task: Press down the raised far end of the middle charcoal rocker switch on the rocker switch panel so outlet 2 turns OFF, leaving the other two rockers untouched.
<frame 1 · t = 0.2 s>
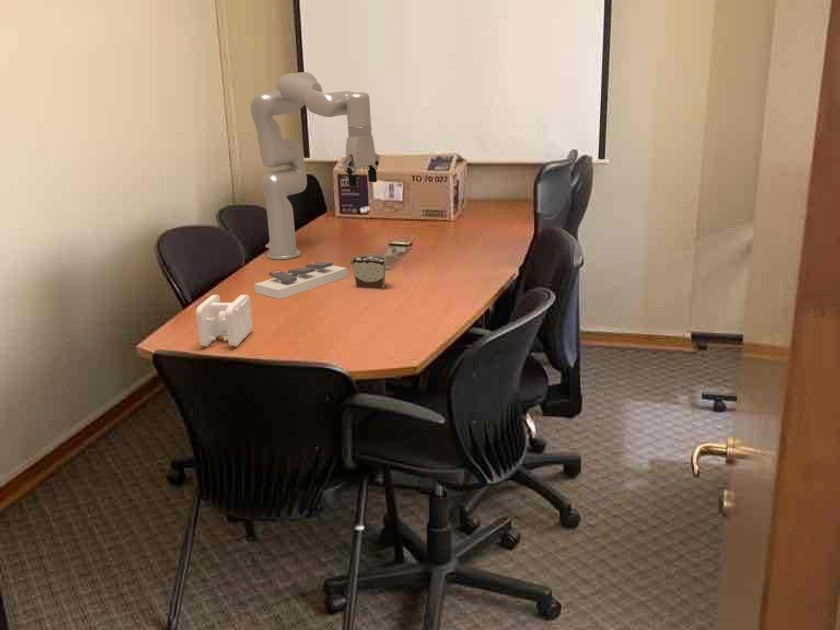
hand: (363, 184, 289), 31 cm above the table, fingers open, 9 cm apart
rocker switch panel: (302, 284, 290), on the table
rocker 3: (319, 265, 294), point 5 cm above the table, hinge at -8.0°
rocker 1: (282, 276, 283), point 5 cm above the table, hinge at 8.0°
rocker 2: (301, 270, 288), point 5 cm above the table, hinge at -8.0°
food container: (373, 286, 285), on the table
cable organizer: (228, 341, 242), on the table
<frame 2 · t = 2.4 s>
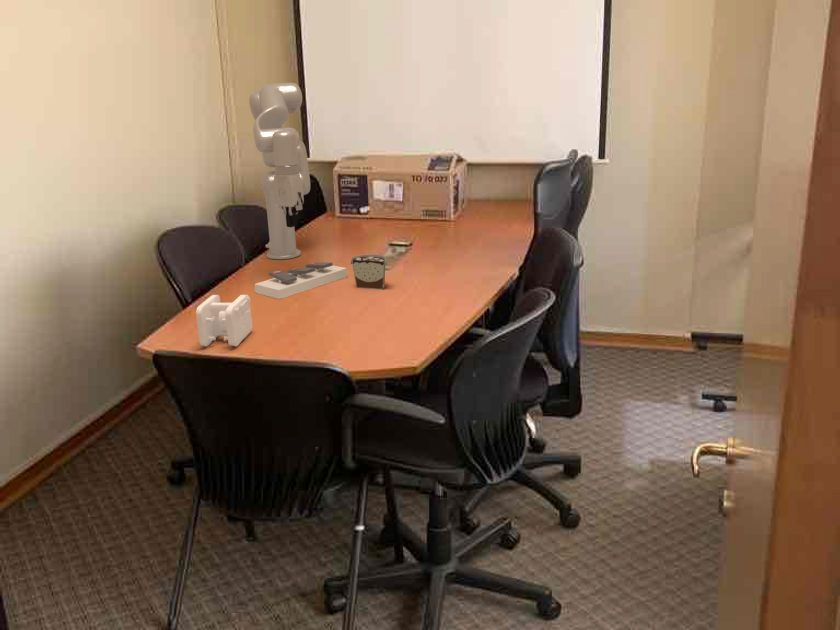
hand: (292, 226, 285), 19 cm above the table, fingers closed
nothing on the table moved.
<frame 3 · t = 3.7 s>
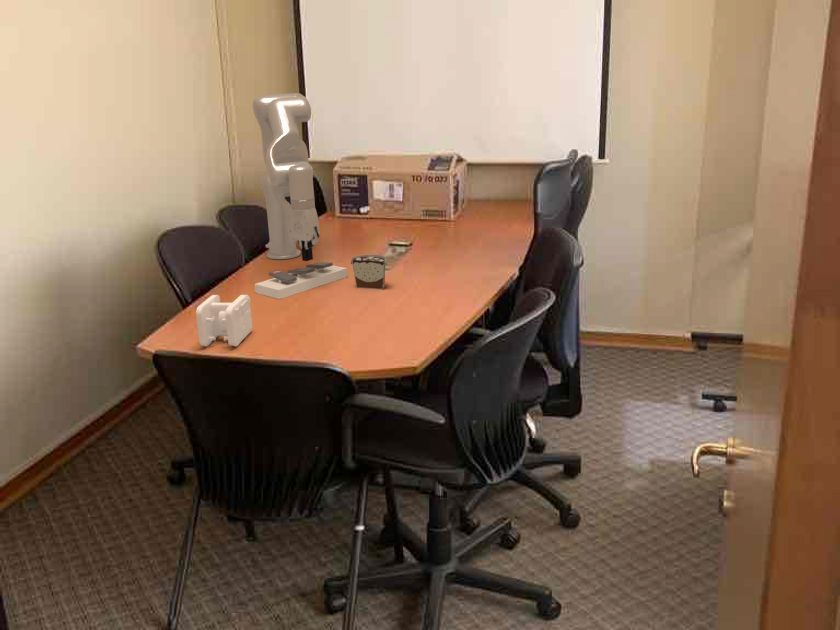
hand: (307, 260, 284), 9 cm above the table, fingers closed
nothing on the table moved.
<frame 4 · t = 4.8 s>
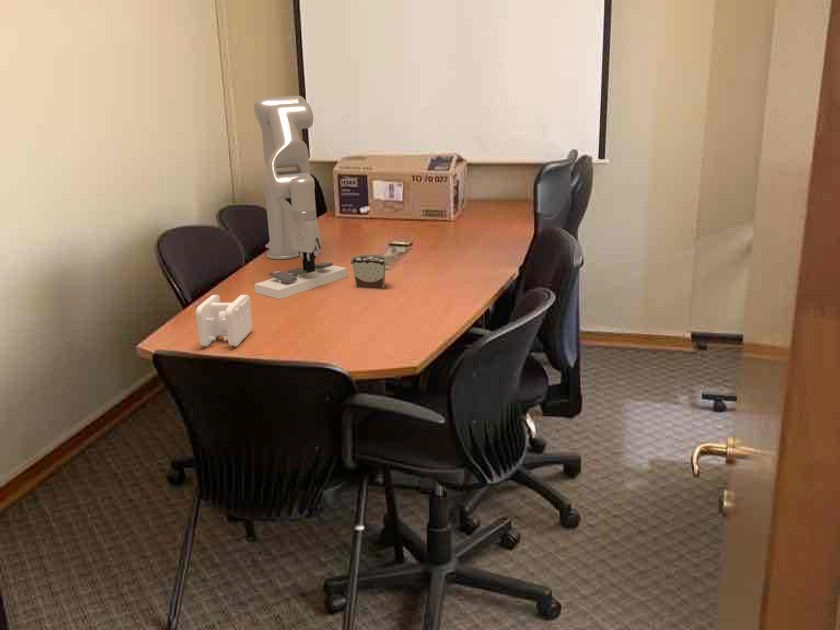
hand: (309, 271, 286), 5 cm above the table, fingers closed
rocker 2: (301, 270, 288), point 5 cm above the table, hinge at -7.7°, touching gripper
everything else where it was.
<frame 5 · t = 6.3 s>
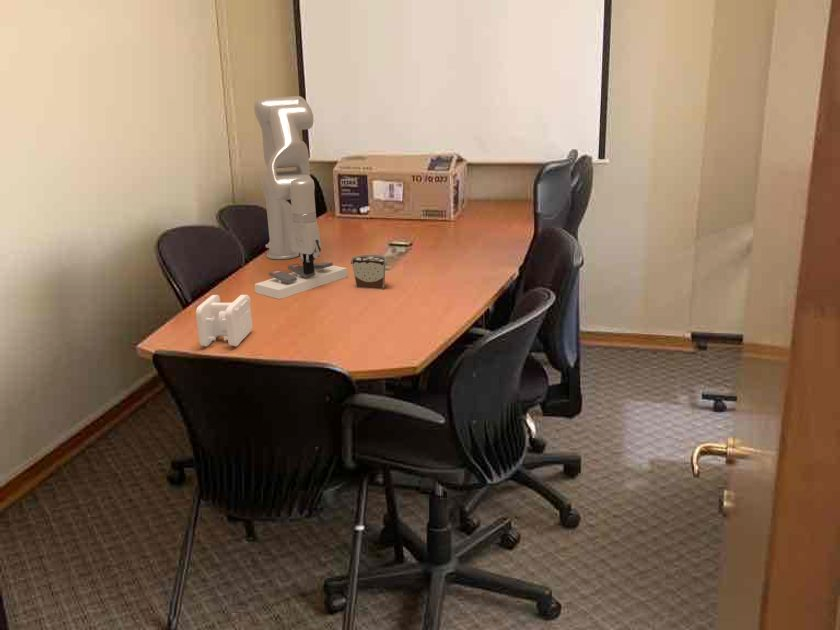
hand: (309, 272, 286), 5 cm above the table, fingers closed
rocker 2: (301, 270, 288), point 5 cm above the table, hinge at 11.0°, touching gripper
everything else where it was.
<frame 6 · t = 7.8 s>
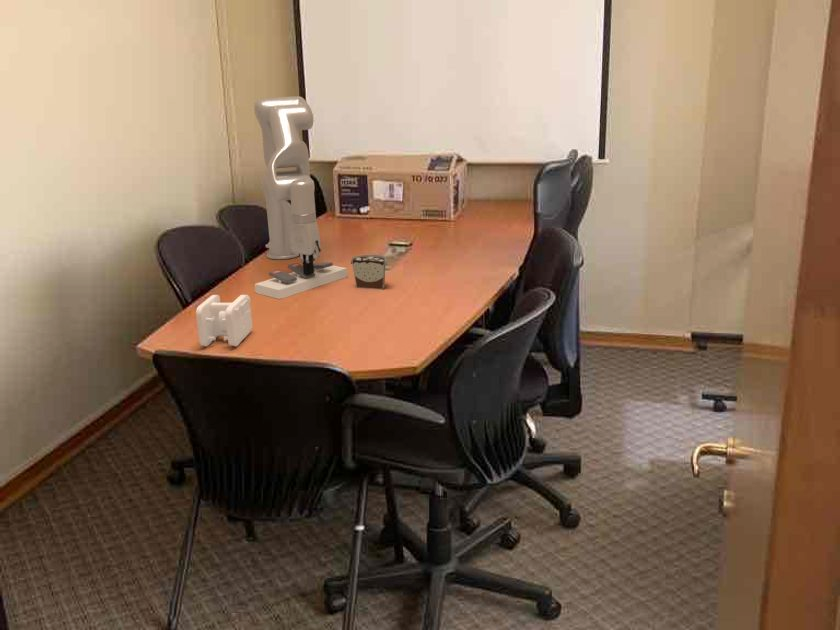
hand: (308, 273, 286), 4 cm above the table, fingers closed
rocker 2: (301, 270, 288), point 5 cm above the table, hinge at 16.7°, touching gripper
everything else where it was.
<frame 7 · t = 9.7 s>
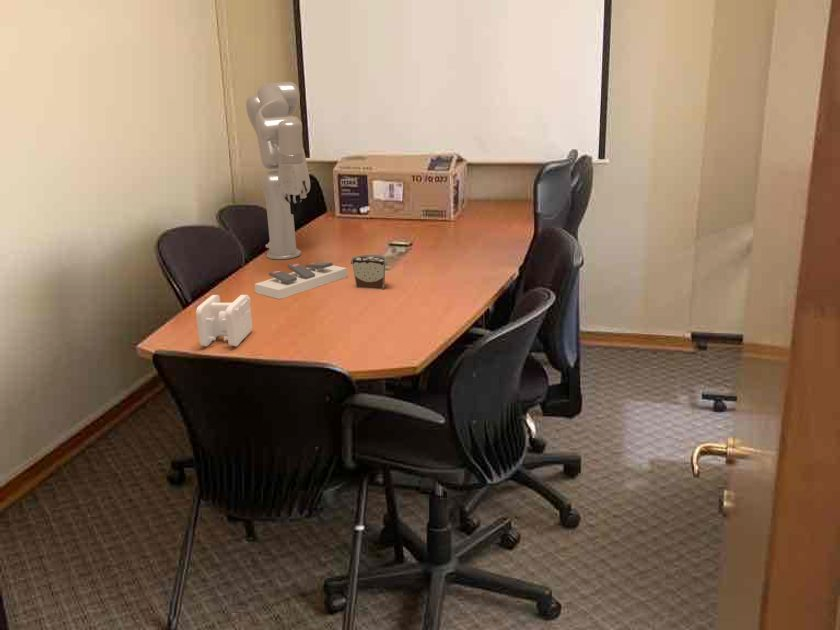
hand: (295, 213, 292), 22 cm above the table, fingers closed
rocker 2: (301, 270, 288), point 5 cm above the table, hinge at 17.7°, touching rocker switch panel
everything else where it was.
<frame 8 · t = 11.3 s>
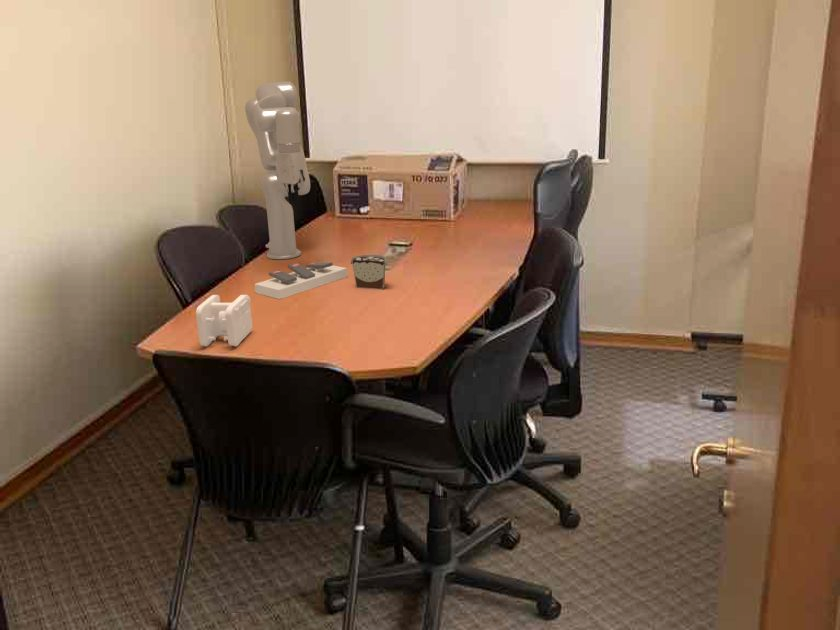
hand: (294, 203, 292), 25 cm above the table, fingers closed
nothing on the table moved.
at the end: rocker 2 at +18° (first picture: -8°); rocker 1 at +8° (first picture: +8°); rocker 3 at -8° (first picture: -8°) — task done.
